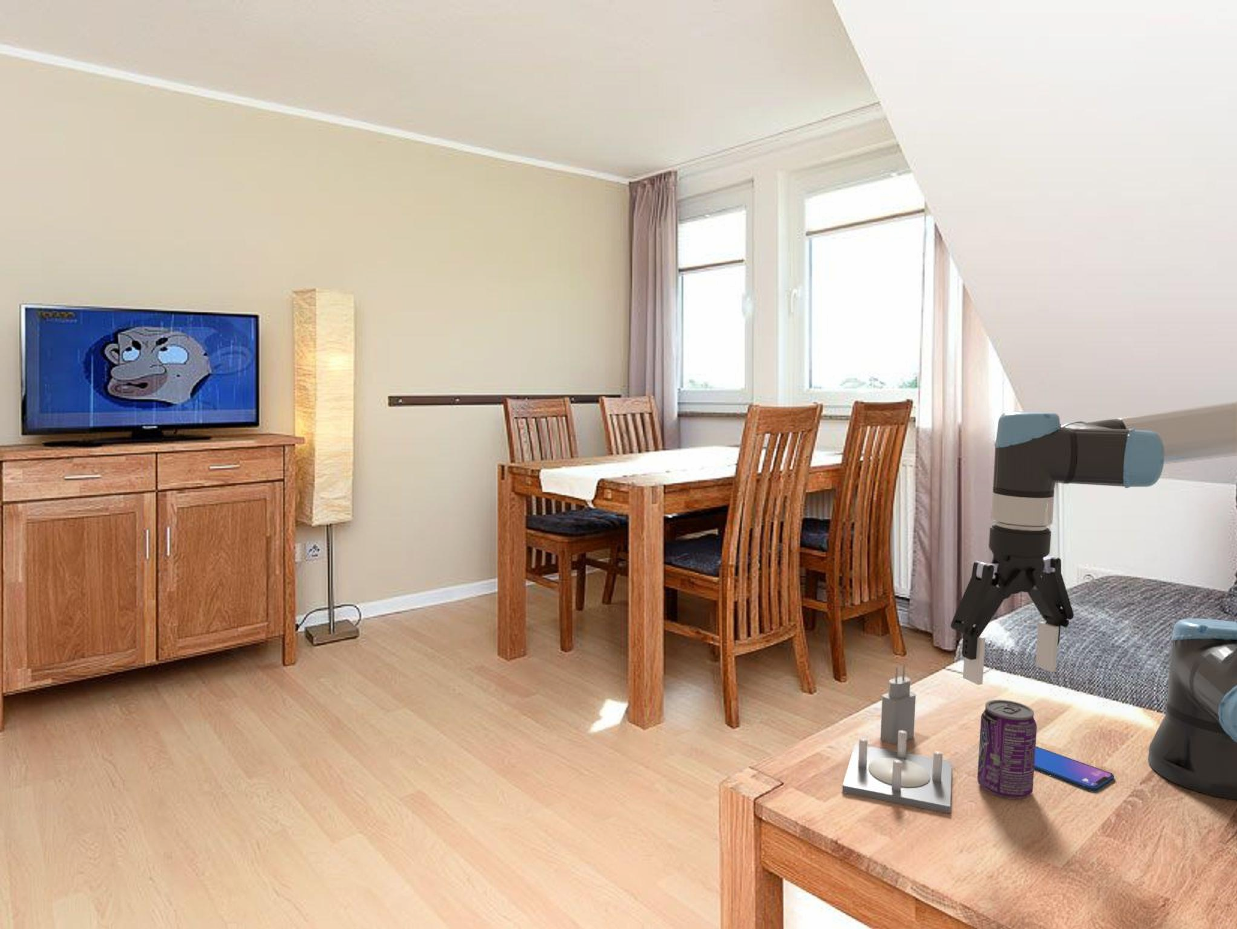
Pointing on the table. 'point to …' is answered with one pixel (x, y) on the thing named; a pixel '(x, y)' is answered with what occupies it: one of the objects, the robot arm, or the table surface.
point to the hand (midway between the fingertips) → (1009, 675)
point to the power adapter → (898, 709)
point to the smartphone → (1071, 770)
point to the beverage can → (1007, 749)
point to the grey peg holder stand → (899, 776)
